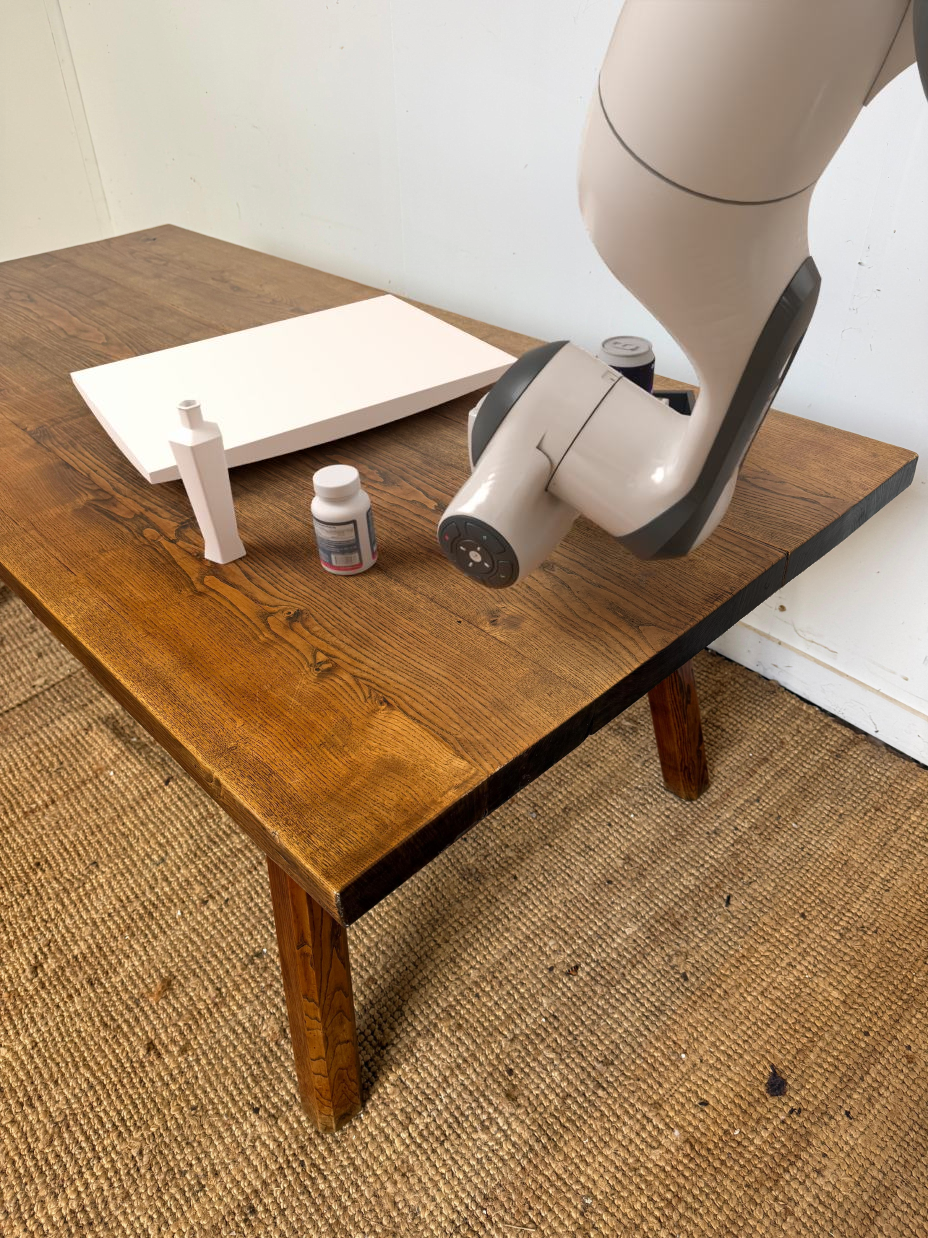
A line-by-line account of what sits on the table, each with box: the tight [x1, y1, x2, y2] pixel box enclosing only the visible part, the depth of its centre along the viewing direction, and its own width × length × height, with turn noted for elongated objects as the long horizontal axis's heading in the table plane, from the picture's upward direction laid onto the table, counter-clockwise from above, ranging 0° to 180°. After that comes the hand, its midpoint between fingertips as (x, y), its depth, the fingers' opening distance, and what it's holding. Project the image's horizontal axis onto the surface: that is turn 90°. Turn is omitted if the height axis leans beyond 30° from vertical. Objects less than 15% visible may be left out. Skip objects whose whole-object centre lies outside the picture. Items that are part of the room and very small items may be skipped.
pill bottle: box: [310, 464, 379, 576], centre depth 78 cm, size 5×5×9 cm
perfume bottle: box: [168, 398, 247, 565], centre depth 79 cm, size 5×4×15 cm
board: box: [69, 293, 519, 485], centre depth 108 cm, size 45×32×5 cm
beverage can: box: [595, 335, 656, 395], centre depth 88 cm, size 6×6×12 cm
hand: (613, 397), depth 85 cm, fingers open, 8 cm apart
